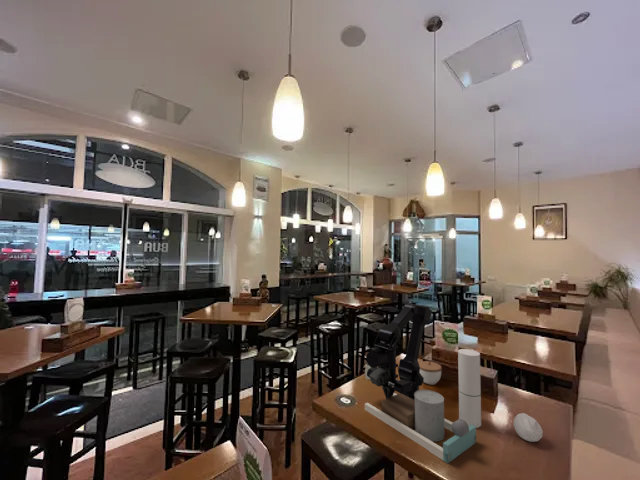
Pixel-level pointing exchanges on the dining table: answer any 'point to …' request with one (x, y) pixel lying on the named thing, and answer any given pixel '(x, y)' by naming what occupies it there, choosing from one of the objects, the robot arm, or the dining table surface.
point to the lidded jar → (430, 372)
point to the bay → (451, 447)
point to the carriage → (400, 409)
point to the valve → (367, 370)
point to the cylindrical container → (469, 387)
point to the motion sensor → (527, 427)
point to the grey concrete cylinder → (429, 414)
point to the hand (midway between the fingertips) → (388, 401)
